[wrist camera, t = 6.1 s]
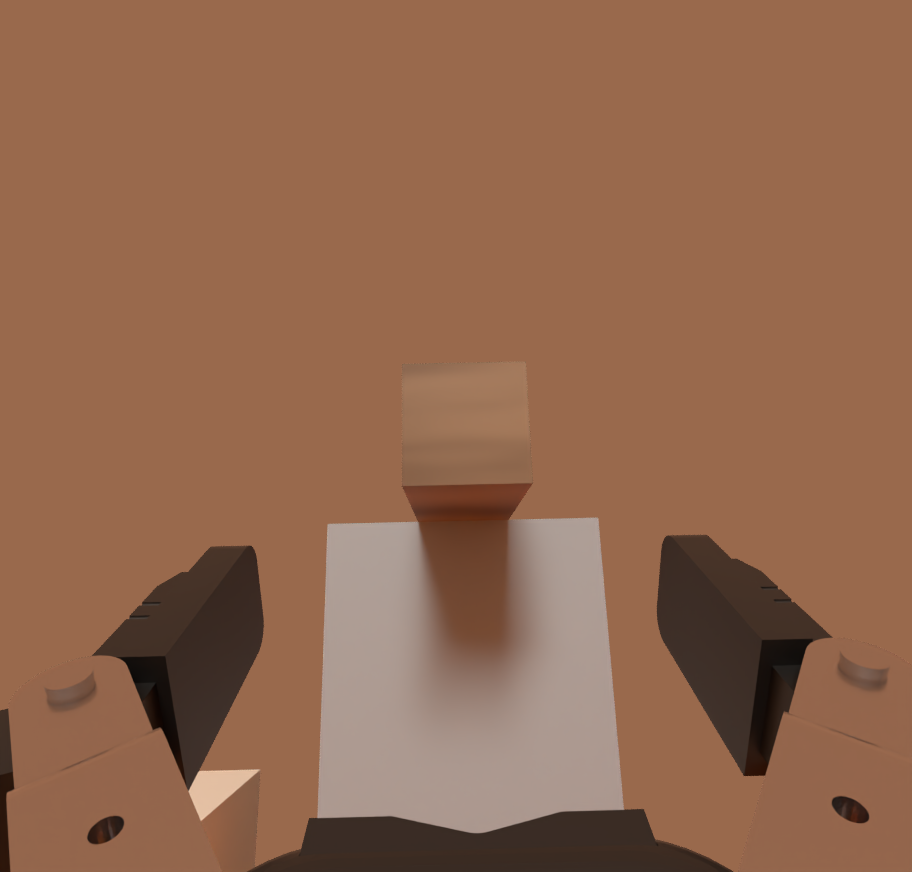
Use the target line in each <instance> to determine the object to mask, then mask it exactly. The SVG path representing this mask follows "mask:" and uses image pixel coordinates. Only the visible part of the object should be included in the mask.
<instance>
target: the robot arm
mask: <svg viewBox="0 0 912 872" xmlns="http://www.w3.org/2000/svg"><path fill="white" fill-rule="evenodd" d="M657 620H658V625H659V630H660V634H661V637H662V639H663V641H664V643H665V645H666V646H667V648H668V649H669V651H670V653H671V655H672V656H673V658H674V659H675V661H676V663H677V665H678V666H679V668H680V670H681V671H682V673H683V675H684V676H685V678H686V680H687V681H688V683H689V685H690V686H691V688H692V690H693V691H694V693H695V695H696V696H697V698H698V700H699V701H700V703H701V705H702V706H703V708H704V710H705V711H706V713H707V715H708V716H709V718H710V720H711V721H712V723H713V725H714V727H715V728H716V730H717V731H718V733H719V735H720V737H721V738H722V740H723V741H724V743H725V745H726V747H727V748H728V750H729V751H730V753H731V755H732V757H733V758H734V760H735V762H736V763H737V765H738V767H739V768H740V770H741V772H742V773H743V775H744V776H759V775H760V776H764V775H765V779H764V782H763V786H762V789H761V793H760V796H759V800H758V803H757V807H756V810H755V814H754V817H753V821H752V825H751V829H750V832H749V835H748V838H747V842H746V846H745V849H744V853H743V856H742V860H741V863H740V867H739V870H738V872H912V665H911V664H910V663H908V662H907V661H905V660H904V659H902V658H901V657H899V656H897V655H895V654H893V653H891V652H889V651H887V650H885V649H882V648H880V647H877V646H875V645H872V644H868V643H865V642H861V641H857V640H852V639H845V638H833V637H831V636H830V635H829V634H828V633H827V632H826V631H825V630H824V629H823V628H822V627H821V626H819V624H817V623H816V622H815V621H814V620H813V619H812V618H811V617H810V616H809V615H808V614H807V613H806V612H804V611H803V610H802V609H801V608H800V607H799V606H798V605H797V604H796V603H795V602H791V598H789V597H788V596H787V595H786V594H785V593H784V592H783V591H782V590H781V589H780V590H778V586H777V585H775V584H774V583H773V582H772V581H771V580H770V579H769V578H768V577H767V576H766V575H765V574H764V573H763V572H761V571H759V570H758V569H756V568H754V567H752V566H750V565H748V564H746V563H744V562H742V561H740V560H738V559H731V558H730V557H729V556H728V555H727V554H726V553H725V552H724V551H723V550H722V549H721V548H720V547H719V546H718V545H717V544H716V543H715V542H714V541H713V540H712V539H711V538H710V537H709V536H707V535H676V536H674V535H673V536H666V537H665V539H664V541H663V544H662V550H661V563H660V575H659V588H658V601H657ZM263 622H264V621H263V610H262V601H261V593H260V584H259V575H258V566H257V558H256V553H255V551H254V549H253V547H252V546H223V547H222V546H218V547H210V548H209V549H208V550H207V551H206V552H205V553H204V555H203V556H202V557H201V558H200V559H199V560H198V562H197V563H196V564H195V565H194V566H193V567H192V568H191V569H190V570H189V572H182V573H179V574H178V575H176V576H174V577H173V578H171V579H169V580H167V581H166V582H164V583H162V584H160V585H159V586H157V587H156V588H155V589H154V590H153V592H152V593H151V594H150V595H149V596H148V597H147V598H146V599H145V600H144V601H143V602H142V606H138V607H137V609H136V610H135V611H134V612H133V613H132V614H131V615H130V618H129V619H126V620H125V621H124V622H123V623H122V625H121V626H120V627H119V628H118V629H117V630H116V631H115V632H114V633H113V634H112V635H111V636H110V637H109V638H108V639H107V640H106V642H105V643H104V644H103V645H102V646H101V647H100V648H99V649H98V650H97V651H96V652H95V653H94V654H93V655H92V656H90V657H83V658H78V659H74V660H71V661H67V662H64V663H61V664H59V665H56V666H54V667H52V668H50V669H47V670H45V671H43V672H42V673H40V674H38V675H36V676H35V677H33V678H32V679H30V680H29V681H28V682H26V683H25V684H24V685H22V686H21V688H19V689H18V691H16V693H15V694H14V695H13V697H12V698H11V700H10V703H9V708H8V709H5V710H1V711H0V872H222V870H221V868H220V865H219V863H218V861H217V858H216V856H215V854H214V851H213V849H212V846H211V844H210V842H209V839H208V837H207V835H206V832H205V830H204V827H203V825H202V823H201V820H200V818H199V815H198V813H197V811H196V808H195V806H194V804H193V801H192V799H191V796H190V794H189V792H188V791H189V789H190V787H191V785H192V783H193V781H194V780H195V778H196V776H197V774H198V772H199V770H200V768H201V766H202V763H203V762H204V760H205V757H206V756H207V754H208V752H209V750H210V748H211V745H212V744H213V742H214V740H215V738H216V736H217V734H218V732H219V730H220V728H221V726H222V724H223V722H224V720H225V718H226V716H227V714H228V712H229V710H230V708H231V706H232V704H233V702H234V700H235V698H236V696H237V694H238V692H239V690H240V688H241V686H242V684H243V682H244V680H245V678H246V676H247V674H248V672H249V670H250V668H251V666H252V664H253V662H254V660H255V658H256V656H257V654H258V652H259V650H260V647H261V643H262V638H263V627H264V625H263ZM247 872H733V871H731V870H730V869H728V868H726V867H725V866H722V865H721V864H719V863H717V862H715V861H713V860H712V859H710V858H708V857H705V856H703V855H701V854H698V853H696V852H694V851H691V850H689V849H687V848H683V847H680V846H677V845H674V844H671V843H668V842H664V841H660V840H655V838H654V836H653V833H652V830H651V828H650V825H649V822H648V820H647V817H646V814H645V812H644V809H635V810H634V809H633V810H596V811H562V812H558V813H554V814H551V815H547V816H543V817H540V818H536V819H532V820H529V821H525V822H521V823H518V824H514V825H510V826H507V827H503V828H500V829H496V830H492V831H489V832H484V833H469V832H464V831H460V830H455V829H450V828H446V827H441V826H436V825H431V824H427V823H422V822H417V821H413V820H408V819H403V818H398V817H394V816H375V817H339V818H309V821H308V825H307V829H306V833H305V836H304V840H303V844H302V848H301V849H300V850H296V851H293V852H289V853H287V854H284V855H281V856H279V857H276V858H274V859H272V860H269V861H267V862H265V863H263V864H261V865H259V866H257V867H255V868H253V869H251V870H249V871H247Z"/></svg>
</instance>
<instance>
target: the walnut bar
mask: <svg viewBox="0 0 912 872" xmlns="http://www.w3.org/2000/svg"><path fill="white" fill-rule="evenodd" d="M532 484H533V477H532V461H531V443H530V426H529V410H528V393H527V376H526V362H486V363H434V364H402V487H403V489H404V491H405V493H406V496H407V498H408V500H409V503H410V504H411V507H412V509H413V511H414V513H415V516H416V518H417V520H418V522H439V521H483V520H509V518H510V517H511V515H512V514H513V512H514V511H515V509H516V507H517V506H518V505H519V503H520V502H521V500H522V498H523V497H524V496H525V494H526V493H527V491H528V489H529V488H530V487H531V485H532Z"/></svg>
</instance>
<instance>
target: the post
mask: <svg viewBox="0 0 912 872" xmlns="http://www.w3.org/2000/svg"><path fill="white" fill-rule="evenodd" d="M259 781H260V770H226V771H199V772H198V774H197V776H196V778H195V780H194V781H193V783H192V785H191V787H190V789H189V791H188V792H189V794H190V796H191V799H192V801H193V804H194V806H195V808H196V811H197V813H198V815H199V818H200V820H201V823H202V825H203V827H204V830H205V832H206V835H207V837H208V839H209V842H210V844H211V846H212V849H213V851H214V854H215V856H216V858H217V861H218V863H219V865H220V868H221V870H222V872H247V871H249V870H251V869H253V868H255V850H256V833H257V817H258V799H259Z"/></svg>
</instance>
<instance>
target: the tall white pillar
mask: <svg viewBox="0 0 912 872" xmlns="http://www.w3.org/2000/svg"><path fill="white" fill-rule="evenodd" d="M324 622H325V623H324V649H323V678H322V679H323V680H322V709H321V736H320V766H319V794H318V818H339V817H375V816H394V817H398V818H403V819H408V820H413V821H417V822H422V823H427V824H431V825H436V826H441V827H446V828H450V829H455V830H460V831H464V832H469V833H484V832H489V831H492V830H496V829H500V828H503V827H507V826H510V825H514V824H518V823H521V822H525V821H529V820H532V819H536V818H540V817H543V816H547V815H551V814H554V813H558V812H562V811H596V810H624V808H623V796H622V785H621V773H620V762H619V751H618V739H617V728H616V717H615V705H614V694H613V682H612V671H611V660H610V648H609V637H608V625H607V614H606V603H605V591H604V581H603V569H602V557H601V546H600V534H599V523H598V518H571V519H570V518H569V519H526V520H483V521H439V522H397V523H354V524H353V523H352V524H328V535H327V562H326V591H325V620H324Z"/></svg>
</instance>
